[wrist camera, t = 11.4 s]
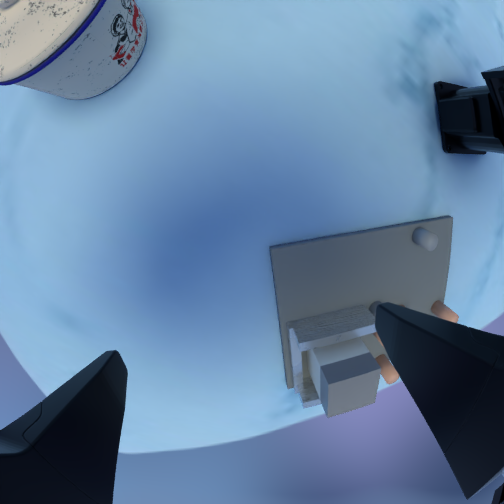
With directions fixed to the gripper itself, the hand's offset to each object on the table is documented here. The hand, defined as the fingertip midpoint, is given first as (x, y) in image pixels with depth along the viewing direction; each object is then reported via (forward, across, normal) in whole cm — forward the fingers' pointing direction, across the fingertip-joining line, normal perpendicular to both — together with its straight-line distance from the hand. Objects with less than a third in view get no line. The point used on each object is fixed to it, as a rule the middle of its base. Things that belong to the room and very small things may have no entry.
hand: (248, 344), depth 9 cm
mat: (+12, -11, +8) cm, 18 cm away
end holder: (+12, -6, +11) cm, 18 cm away
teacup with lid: (+12, +8, -18) cm, 23 cm away
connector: (+11, -6, +11) cm, 17 cm away
